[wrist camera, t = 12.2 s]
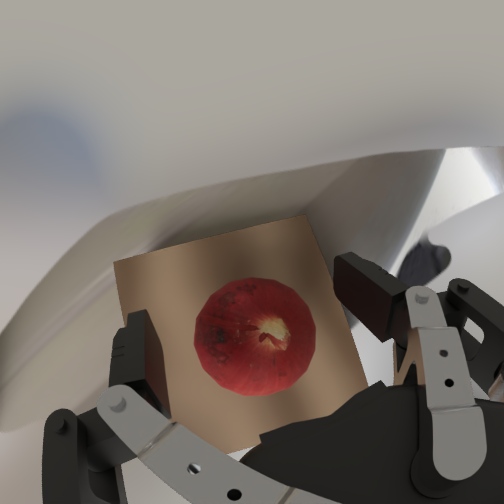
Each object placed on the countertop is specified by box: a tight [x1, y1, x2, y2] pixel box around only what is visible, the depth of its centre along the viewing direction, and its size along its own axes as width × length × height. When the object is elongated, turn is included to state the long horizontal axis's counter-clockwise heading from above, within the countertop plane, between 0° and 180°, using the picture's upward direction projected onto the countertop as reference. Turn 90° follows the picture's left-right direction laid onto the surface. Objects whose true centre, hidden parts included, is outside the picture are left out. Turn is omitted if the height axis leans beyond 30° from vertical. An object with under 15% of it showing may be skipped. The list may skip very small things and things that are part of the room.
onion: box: [193, 277, 316, 396], centre depth 13 cm, size 6×6×8 cm
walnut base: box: [113, 214, 369, 454], centre depth 19 cm, size 14×14×5 cm
